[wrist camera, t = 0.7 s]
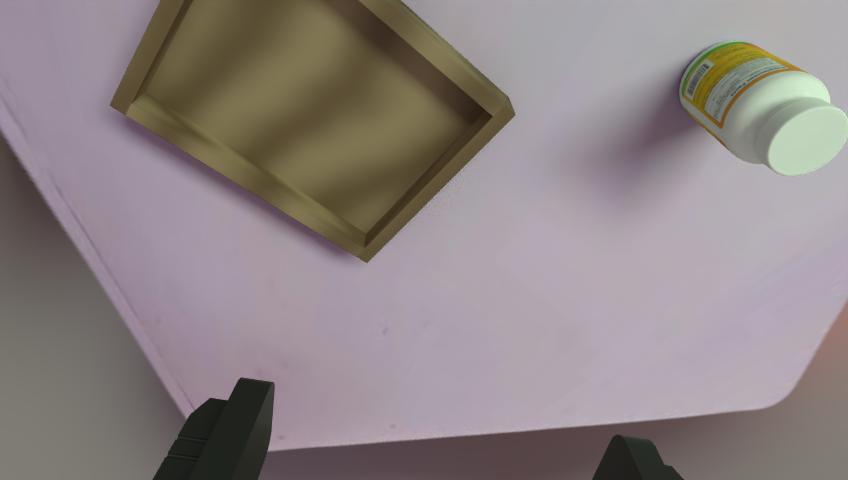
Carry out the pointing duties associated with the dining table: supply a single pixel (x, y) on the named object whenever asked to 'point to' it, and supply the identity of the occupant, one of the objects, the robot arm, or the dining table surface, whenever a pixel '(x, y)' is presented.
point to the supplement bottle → (763, 108)
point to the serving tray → (315, 106)
